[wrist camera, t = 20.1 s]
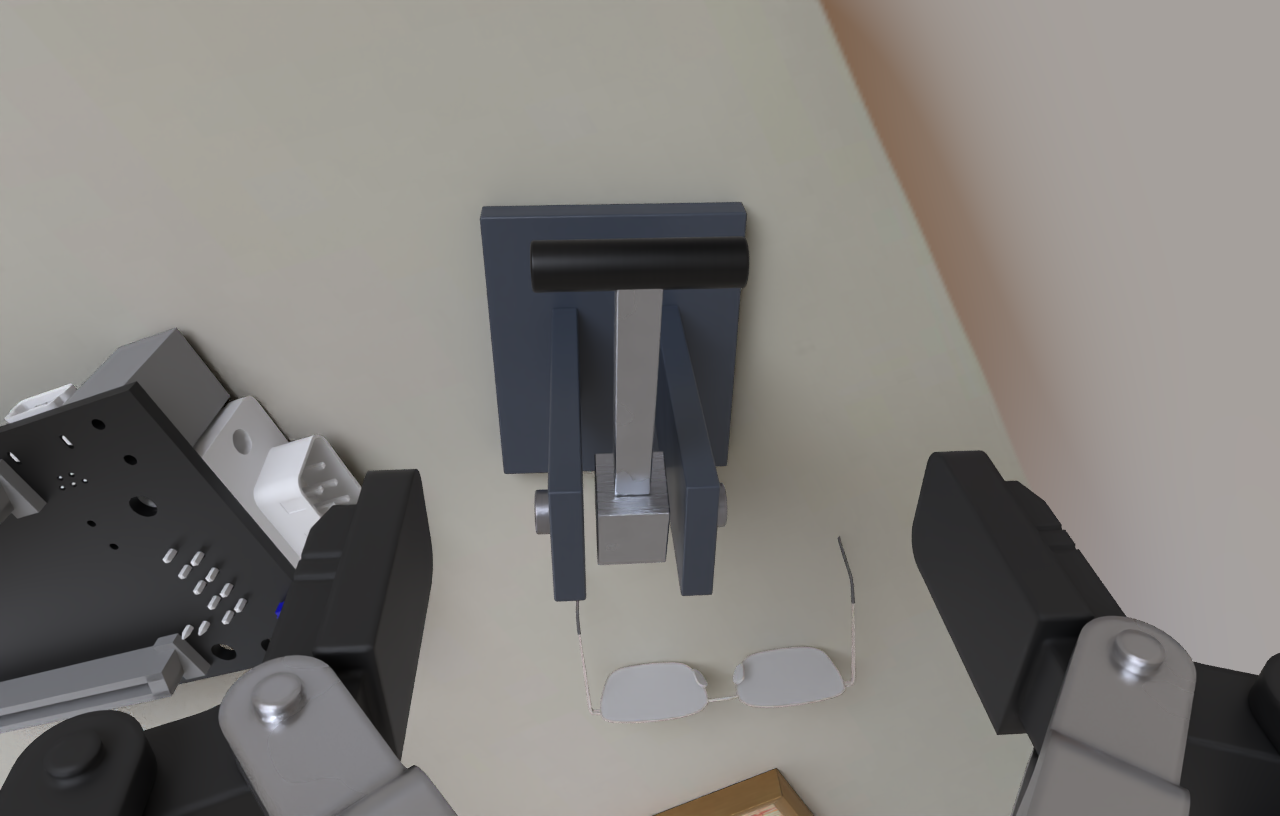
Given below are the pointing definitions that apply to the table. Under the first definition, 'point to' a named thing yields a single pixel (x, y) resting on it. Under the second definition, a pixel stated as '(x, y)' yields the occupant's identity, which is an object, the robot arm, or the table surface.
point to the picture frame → (747, 800)
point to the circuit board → (146, 533)
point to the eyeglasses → (757, 681)
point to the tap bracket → (610, 376)
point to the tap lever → (635, 366)
